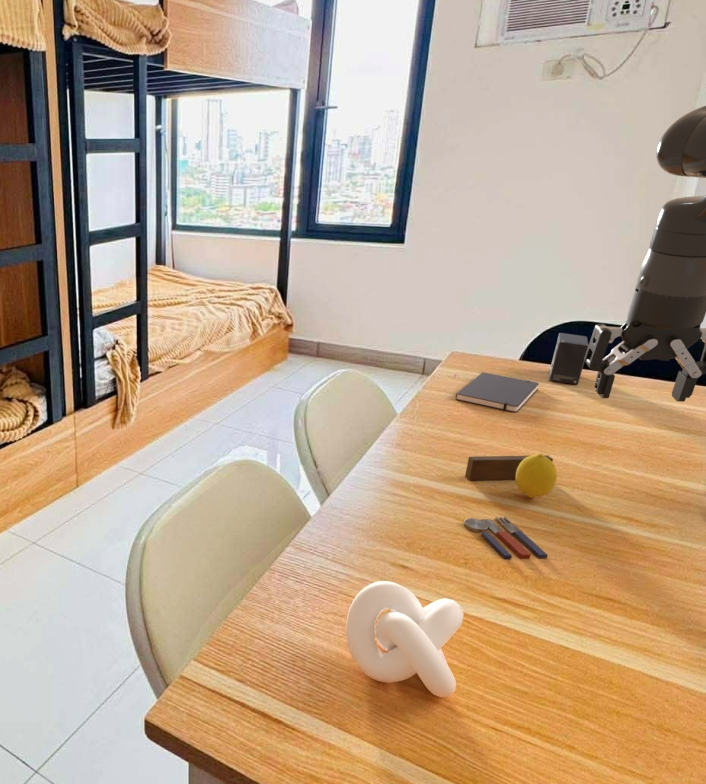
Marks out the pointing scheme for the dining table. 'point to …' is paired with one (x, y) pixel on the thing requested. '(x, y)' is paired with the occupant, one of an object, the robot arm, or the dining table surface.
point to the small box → (568, 358)
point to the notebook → (498, 392)
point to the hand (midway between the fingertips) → (639, 397)
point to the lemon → (536, 476)
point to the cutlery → (505, 537)
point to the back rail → (494, 467)
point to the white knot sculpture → (402, 636)
